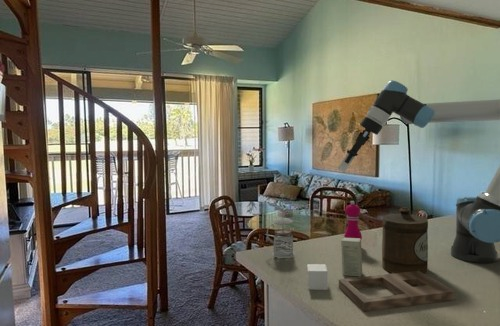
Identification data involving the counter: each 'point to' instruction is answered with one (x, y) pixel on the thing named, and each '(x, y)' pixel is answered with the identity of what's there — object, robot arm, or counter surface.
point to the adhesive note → (317, 276)
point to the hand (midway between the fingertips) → (342, 168)
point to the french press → (282, 238)
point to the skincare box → (351, 256)
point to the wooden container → (405, 242)
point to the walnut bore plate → (397, 290)
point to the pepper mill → (352, 221)
